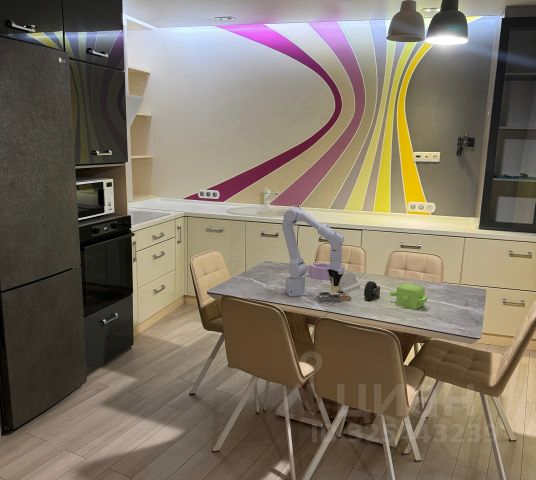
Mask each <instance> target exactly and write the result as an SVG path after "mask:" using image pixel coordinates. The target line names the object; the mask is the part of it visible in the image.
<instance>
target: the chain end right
mask: <svg viewBox="0 0 536 480" xmlns="http://www.w3.org/2000/svg"><path fill="white" fill-rule="evenodd" d="M328 296H329V297H330V298H341V301H340V302H351V301H352V296H350V295H349V294H348V293H346V294H343V293H342V294H341V293H340V294H335V293H334V294H331V295H328Z"/></svg>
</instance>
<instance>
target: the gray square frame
mask: <svg viewBox="0 0 536 480" xmlns="http://www.w3.org/2000/svg"><path fill="white" fill-rule="evenodd" d="M318 295H332V294H331V292H329V291H325V292H324V291H323V292H321V291H320V292H319V294H318Z"/></svg>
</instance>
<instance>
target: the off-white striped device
mask: <svg viewBox="0 0 536 480" xmlns="http://www.w3.org/2000/svg"><path fill="white" fill-rule="evenodd" d="M358 289H361V285H360V283H358V281H357V277H356V275H355V273H354V272H344V273H343V276H342V277H341V279H340V282H339V291H335V293H341V292H342V294H348V293H351V292H354V291H356V290H358Z"/></svg>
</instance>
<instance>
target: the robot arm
mask: <svg viewBox="0 0 536 480" xmlns="http://www.w3.org/2000/svg"><path fill="white" fill-rule="evenodd" d="M297 222H305V223H306V224H308V226H310V227H312V228H314V229H315V230H316V231H317V234H318V235H320V236H321V237H322V238H324V239H325V240H327V241H328V243H329V245H330V250H329V251H330V252H329V263H327V264H328V267H329V268H330V269H328V270H327V271H328V273H329V276H333V283H334V286H339V282H340V279H341V277H342V276H343V270H342V268H344V269H345V267H344V266H343V263H342V262H343V261H342V260H343V259H342V258H343V243H344V242H345V236H344V235H343V234H342V233H341V232H338V231H337V230H334V229H332V228H331V227H330V225H329V224H327V223H322V224H321V223H320V222H319V221H317V219H315V218H314V217H312V216H311V215H310V214H309V213H308V212H307V211H306V210H304V209H302V208H301V207H299V206H296V207H292V208H287V210H286V211H285V212H284V213H283V218H282V225H281V227H282V232H283V235H284V239H285V244H286V247H287V251H288V256H289V260H290V261H289V264H288V266H289V269H288V270H289V272H288V273H289V275H290V276H288V277H287V276H286V281H285V291H284V292H285V293H286V294H287V295H288V296H289V297H298V296H308V293H306V291H305V289H306V288H305V287H306V273H307V272H308V265H307V264H306V263H305V261H304V259H303V258H302V257H301V253H300V250H299V245H298V242H297V238H296V233H295V228H294V226H295V225H296V224H297ZM329 283H331V278H330V280H329Z"/></svg>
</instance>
